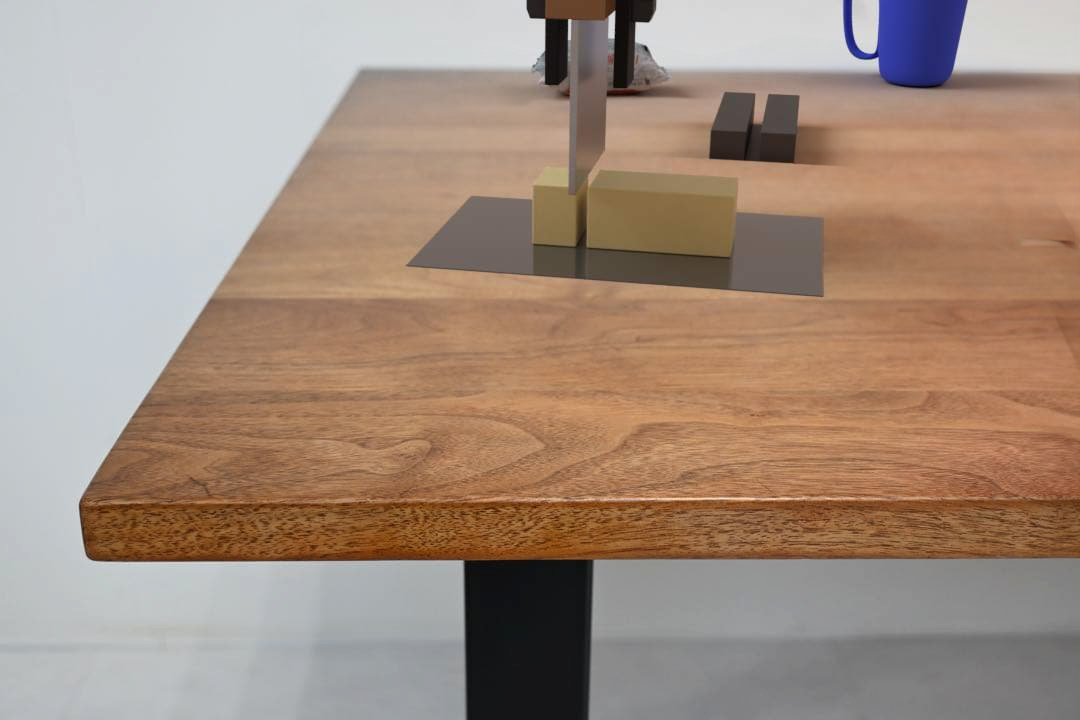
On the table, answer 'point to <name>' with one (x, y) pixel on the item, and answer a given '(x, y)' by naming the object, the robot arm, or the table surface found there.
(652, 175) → the butter stick
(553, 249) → the butter board
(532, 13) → the robot arm
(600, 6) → the scraper knife
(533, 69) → the packaged food
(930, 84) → the mug
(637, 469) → the table surface
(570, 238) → the butter slice
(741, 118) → the knife holder
